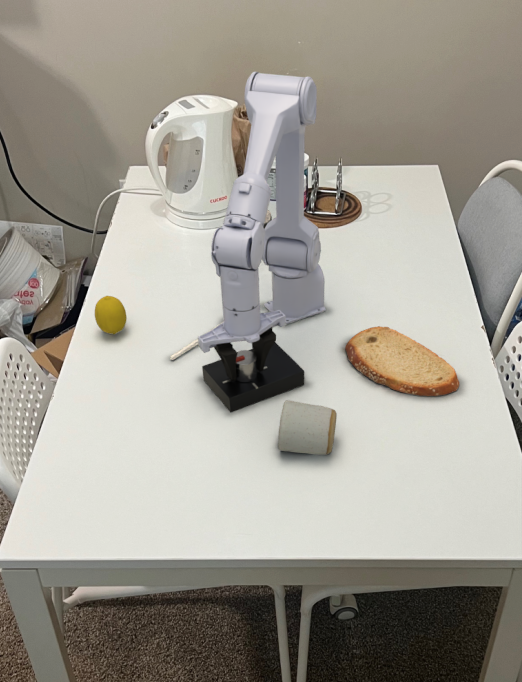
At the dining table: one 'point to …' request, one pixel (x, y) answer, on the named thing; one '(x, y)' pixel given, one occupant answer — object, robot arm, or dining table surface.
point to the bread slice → (400, 363)
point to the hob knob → (246, 366)
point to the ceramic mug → (306, 428)
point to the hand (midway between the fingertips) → (245, 372)
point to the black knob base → (255, 380)
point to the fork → (187, 347)
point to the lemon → (110, 315)
